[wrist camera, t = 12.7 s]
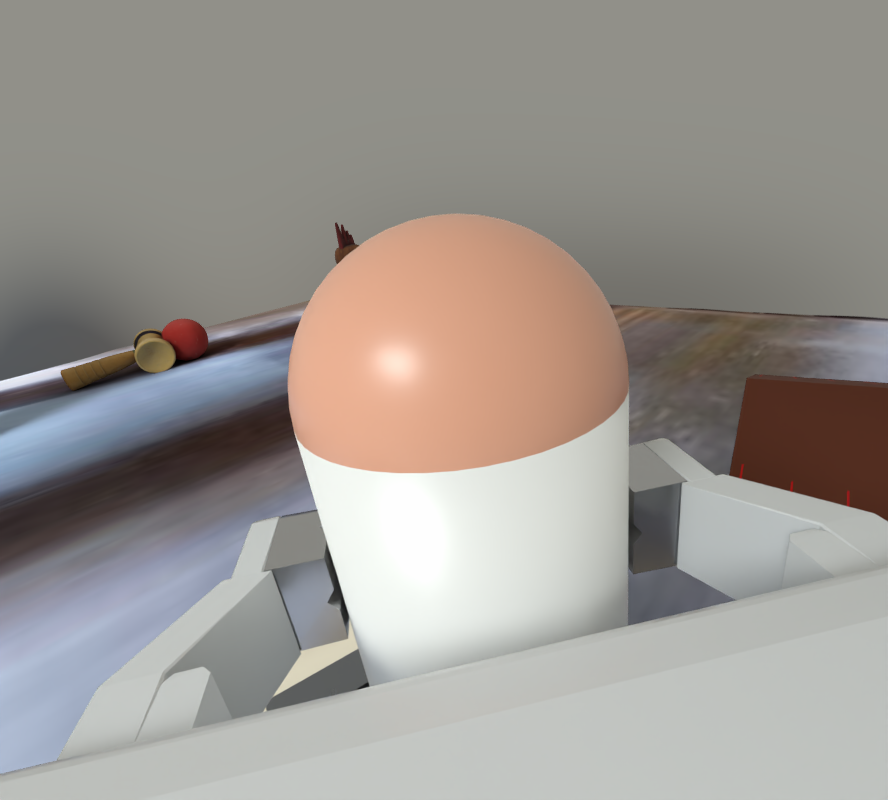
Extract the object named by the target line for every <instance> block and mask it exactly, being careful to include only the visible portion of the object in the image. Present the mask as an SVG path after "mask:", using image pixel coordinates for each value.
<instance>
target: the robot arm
mask: <svg viewBox="0 0 888 800" xmlns="http://www.w3.org/2000/svg"><path fill="white" fill-rule="evenodd" d="M672 566H677V568H678V569H680V570H682V571H684V572H686V573H688V574H689V575H691V576H693V577H695V578H697V579H698V580H700V581H702V582H704V583H706V584H707V585H709V586H711V587H713V588H715V589H716V590H718V591H720V592H722V593H724V594H726V595H727V596H729V597H731V598H733V599H735V601H731V602H727V603H723V604H718V605H714V606H710V607H706V608H701V609H697V610H693V611H689V612H684V613H680V614H676V615H672V616H667V617H663V618H659V619H655V620H650V621H646V622H642V623H638V624H633V625H629V626H625V627H621V628H616V629H612V630H608V631H604V632H600V633H595V634H591V635H587V636H583V637H578V638H574V639H570V640H566V641H562V642H557V643H553V644H549V645H545V646H541V647H536V648H532V649H528V650H524V651H520V652H515V653H511V654H507V655H503V656H499V657H494V658H490V659H486V660H482V661H477V662H473V663H469V664H465V665H460V666H456V667H452V668H448V669H444V670H439V671H435V672H431V673H427V674H422V675H418V676H414V677H410V678H405V679H401V680H397V681H393V682H388V683H384V684H380V685H376V686H371V687H367V688H363V689H359V690H354V691H350V692H346V693H342V694H337V695H333V696H329V697H325V698H320V699H316V700H312V701H308V702H303V703H299V704H295V705H291V706H286V707H282V708H278V709H274V710H270V711H265V712H263V711H264V709H265V708H266V706H267V705H268V703H269V702H270V700H271V699H272V697H273V696H274V694H275V693H276V691H277V690H278V688H279V687H280V685H281V684H282V682H283V680H284V679H285V677H286V676H287V674H288V673H289V671H290V670H291V668H292V667H293V665H294V664H295V662H296V661H297V659H298V658H299V656H300V655H301V652H300V651H303V650H307V649H311V648H314V647H318V646H322V645H326V644H330V643H334V642H338V641H342V640H346V639H348V636H349V615H348V612H347V608H346V605H345V602H344V598H343V595H342V591H341V588H340V585H339V581H338V578H337V575H336V571H335V568H334V564H333V561H332V558H331V554H330V551H329V548H328V544H327V541H326V537H325V534H324V531H323V527H322V524H321V520H320V517H319V514H318V510H312V511H307V512H301V513H296V514H290V515H285V516H282V517H280V516H278V517H274V518H269V519H264V520H260V521H256V522H254V523H253V524H252V525H251V527H250V529H249V532H248V535H247V537H246V540H245V543H244V545H243V548H242V551H241V553H240V556H239V559H238V561H237V564H236V567H235V569H234V572H233V575H232V577H231V579H228V580H224V581H222V582H221V583H219V584H218V585H217V586H216V587H215V588H214V589H212V590H211V591H210V592H209V593H208V594H207V595H205V596H204V597H203V598H202V599H201V600H200V601H198V602H197V603H196V604H195V605H194V606H193V607H191V608H190V609H189V610H188V611H187V612H186V613H184V614H183V615H182V616H181V617H180V618H179V619H178V620H176V621H175V622H174V623H173V624H172V625H171V626H169V627H168V628H167V629H166V630H165V631H164V632H162V633H161V634H160V635H159V636H158V637H157V638H155V639H154V640H153V641H152V642H151V643H150V644H148V645H147V646H146V647H145V648H144V649H143V650H141V651H140V652H139V653H138V654H137V655H136V656H134V657H133V658H132V659H131V660H130V661H129V662H127V663H126V664H125V665H124V666H123V667H122V668H120V669H119V670H118V671H117V672H116V673H115V674H113V675H112V676H111V677H110V678H109V679H108V680H106V681H105V682H104V683H103V684H102V685H101V686H99V687H98V688H97V690H96V692H95V694H94V695H93V697H92V699H91V701H90V702H89V704H88V706H87V708H86V710H85V711H84V713H83V715H82V717H81V718H80V720H79V722H78V724H77V725H76V727H75V729H74V731H73V732H72V734H71V736H70V738H69V739H68V741H67V743H66V745H65V746H64V748H63V750H62V752H61V754H60V755H59V757H58V759H57V761H53V762H49V763H45V764H40V765H36V766H32V767H28V768H23V769H19V770H15V771H11V772H6V773H2V774H0V800H888V521H886V520H884V519H883V518H881V517H879V516H878V515H876V514H875V513H871V512H867V511H863V510H859V509H855V508H852V507H848V506H844V505H840V504H836V503H832V502H829V501H825V500H821V499H817V498H813V497H809V496H806V495H802V494H798V493H794V492H790V491H786V490H783V489H779V488H775V487H771V486H767V485H763V484H759V483H756V482H752V481H748V480H744V479H740V478H736V477H733V476H729V475H725V474H722V475H717V476H716V475H714V474H713V473H712V472H710V471H709V470H708V469H706V468H705V467H704V466H702V465H701V464H700V463H698V462H697V461H696V460H695V459H693V458H692V457H691V456H689V455H688V454H687V453H685V452H684V451H683V450H681V449H680V448H679V447H677V446H676V445H675V444H673V443H672V442H671V441H670V440H668V439H664V438H660V439H656V440H651V441H647V442H643V443H639V444H636V445H631V446H629V521H628V568H629V569H630V570H631V572H632V573H633V574H637V573H642V572H647V571H652V570H657V569H662V568H667V567H672Z"/></svg>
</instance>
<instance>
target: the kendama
mask: <svg viewBox="0 0 888 800" xmlns="http://www.w3.org/2000/svg"><path fill="white" fill-rule="evenodd" d="M207 346H208V337H207V333H206V331H205V330H204V328H203V327H202V326H201V325H200V324H199V323H197V322H195V321H193V320H190V319H177V320H174V321H172V322H170V323H169V324H168V325H167V326H166V327H165V328H164V329H163V331H162V332H161V331H159V330H156V329H145V330H142V331H140V332H139V333H138V334H137V335H136V336H135V338H134V348H135V350H132V351H128V352H124V353H120V354H116V355H112V356H108V357H105V358H102V359H99V360H95V361H92V362H89V363H86V364H83V365H79V366H76V367H72V368H68V369H65V370H61V375H62V377H63V379H64V381H65V382H66V384H67V385H68V387H69V388H70V389H71V390H72V391H74V390H77V389H80V388H82V387H84V386H86V385H88V384H91V383H93V382H95V381H97V380H99V379H100V378H104V377H106V376H108V375H111V374H113V373H115V372H118V371H120V370H122V369H124V368H126V367H128V366H130V365H132V364H134V363H135V362H137V364H138V365H139V367H140V368H142V369H143V370H145V371H147V372H150V373H158V372H162V371H165V370H168V369H170V368H171V367H172V366H173V364H174V362H175V359H179V360H184V361H187V360H193V359H196V358H198V357H200V356H201V355H202V354H203V353H204V352H205V351H206V349H207Z"/></svg>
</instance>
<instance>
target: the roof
mask: <svg viewBox="0 0 888 800" xmlns="http://www.w3.org/2000/svg"><path fill="white" fill-rule="evenodd" d="M729 476H733V477H736V478H740V479H744V480H748V481H752V482H756V483H759V484H763V485H767V486H771V487H775V488H779V489H783V490H786V491H790V492H794V493H798V494H802V495H806V496H809V497H813V498H817V499H821V500H825V501H829V502H832V503H836V504H840V505H844V506H848V507H852V508H855V509H859V510H863V511H867V512H871V513H875V514H876V515H878V516H879V517H881V518H883V519H884V520H886V521H888V383H878V382H863V381H847V380H832V379H817V378H802V377H787V376H772V375H757V374H755V375H753V376H750V377H748V378H747V380H746V386H745V391H744V397H743V402H742V408H741V413H740V419H739V424H738V430H737V436H736V441H735V447H734V452H733V458H732V463H731V469H730V474H729Z"/></svg>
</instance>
